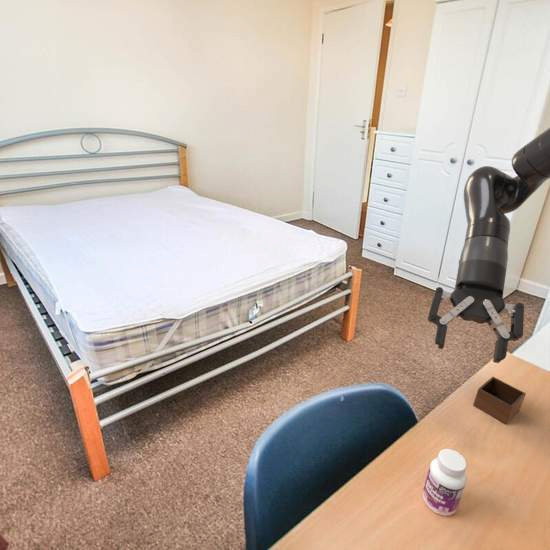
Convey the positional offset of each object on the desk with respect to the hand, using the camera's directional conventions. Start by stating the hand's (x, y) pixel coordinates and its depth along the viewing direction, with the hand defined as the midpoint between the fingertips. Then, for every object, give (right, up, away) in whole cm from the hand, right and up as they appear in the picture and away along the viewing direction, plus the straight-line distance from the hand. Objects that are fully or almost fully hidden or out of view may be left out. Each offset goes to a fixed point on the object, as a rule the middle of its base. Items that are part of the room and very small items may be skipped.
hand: (468, 354), depth 63 cm
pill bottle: (-5, -24, -1) cm, 24 cm away
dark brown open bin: (+16, -15, +19) cm, 29 cm away
